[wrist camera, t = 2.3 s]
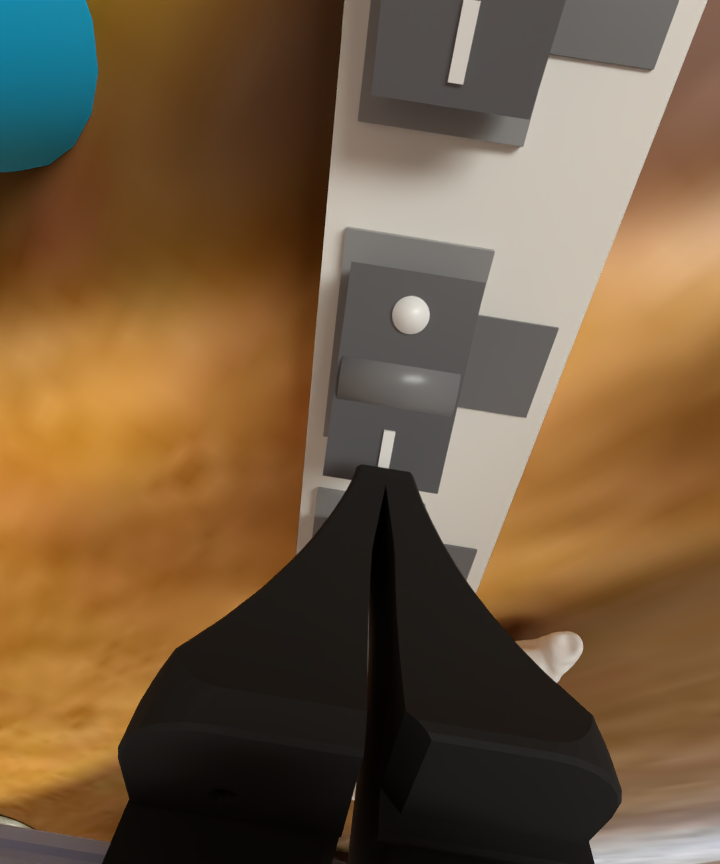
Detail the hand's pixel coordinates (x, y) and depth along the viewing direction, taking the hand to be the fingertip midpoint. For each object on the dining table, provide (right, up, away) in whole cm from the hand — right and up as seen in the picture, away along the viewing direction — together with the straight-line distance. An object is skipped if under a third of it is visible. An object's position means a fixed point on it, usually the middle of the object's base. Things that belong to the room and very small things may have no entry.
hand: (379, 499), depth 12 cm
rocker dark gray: (+1, +3, +1) cm, 3 cm away
